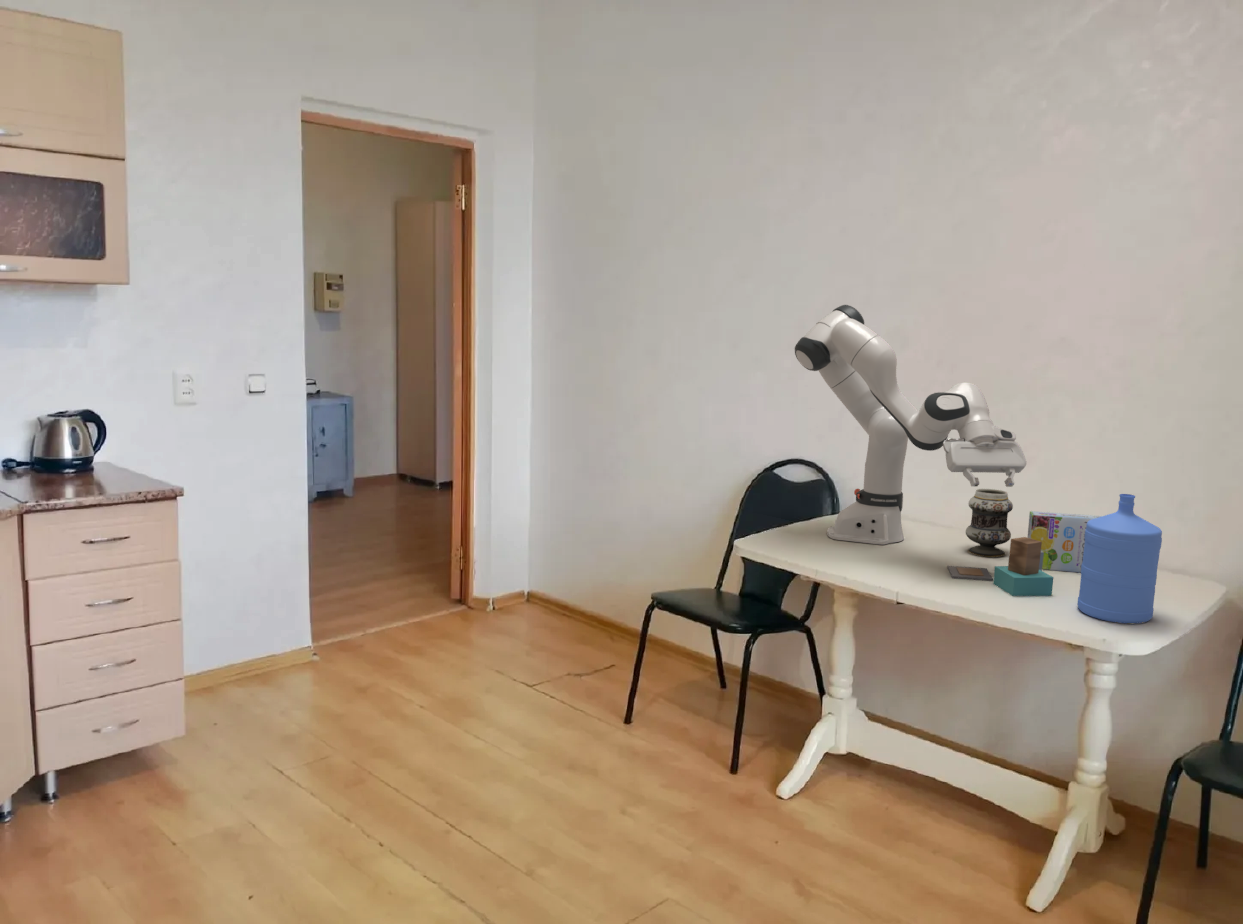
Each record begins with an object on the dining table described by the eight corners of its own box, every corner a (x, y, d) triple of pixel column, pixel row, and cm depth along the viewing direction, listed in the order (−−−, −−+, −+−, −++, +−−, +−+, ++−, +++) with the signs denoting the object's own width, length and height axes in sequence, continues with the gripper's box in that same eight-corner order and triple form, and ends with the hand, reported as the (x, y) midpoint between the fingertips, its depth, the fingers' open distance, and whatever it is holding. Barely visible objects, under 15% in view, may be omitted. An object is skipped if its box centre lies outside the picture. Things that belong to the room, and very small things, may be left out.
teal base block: (1012, 597, 234) (1014, 577, 233) (993, 585, 244) (994, 566, 243) (1051, 597, 235) (1053, 577, 234) (1030, 584, 245) (1032, 565, 244)
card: (952, 578, 248) (952, 575, 248) (947, 567, 257) (947, 564, 257) (993, 581, 246) (993, 578, 246) (986, 570, 256) (986, 567, 255)
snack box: (1109, 570, 258) (1115, 515, 255) (1113, 576, 253) (1120, 520, 250) (1024, 563, 264) (1029, 509, 261) (1027, 568, 258) (1032, 514, 256)
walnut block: (1007, 569, 240) (1011, 538, 238) (1021, 567, 242) (1024, 536, 240) (1024, 575, 235) (1027, 543, 234) (1038, 573, 237) (1041, 541, 236)
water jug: (1131, 629, 211) (1145, 505, 207) (1063, 610, 224) (1075, 492, 219) (1165, 616, 221) (1179, 497, 216) (1098, 598, 233) (1110, 485, 228)
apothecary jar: (1002, 548, 279) (1007, 487, 276) (1014, 559, 267) (1020, 496, 264) (959, 546, 280) (964, 486, 277) (969, 557, 268) (975, 494, 265)
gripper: (946, 431, 244) (959, 478, 237) (1020, 433, 247) (1036, 479, 240) (936, 444, 250) (949, 491, 243) (1009, 445, 253) (1023, 491, 246)
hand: (993, 485), depth 241 cm, fingers open, 8 cm apart
